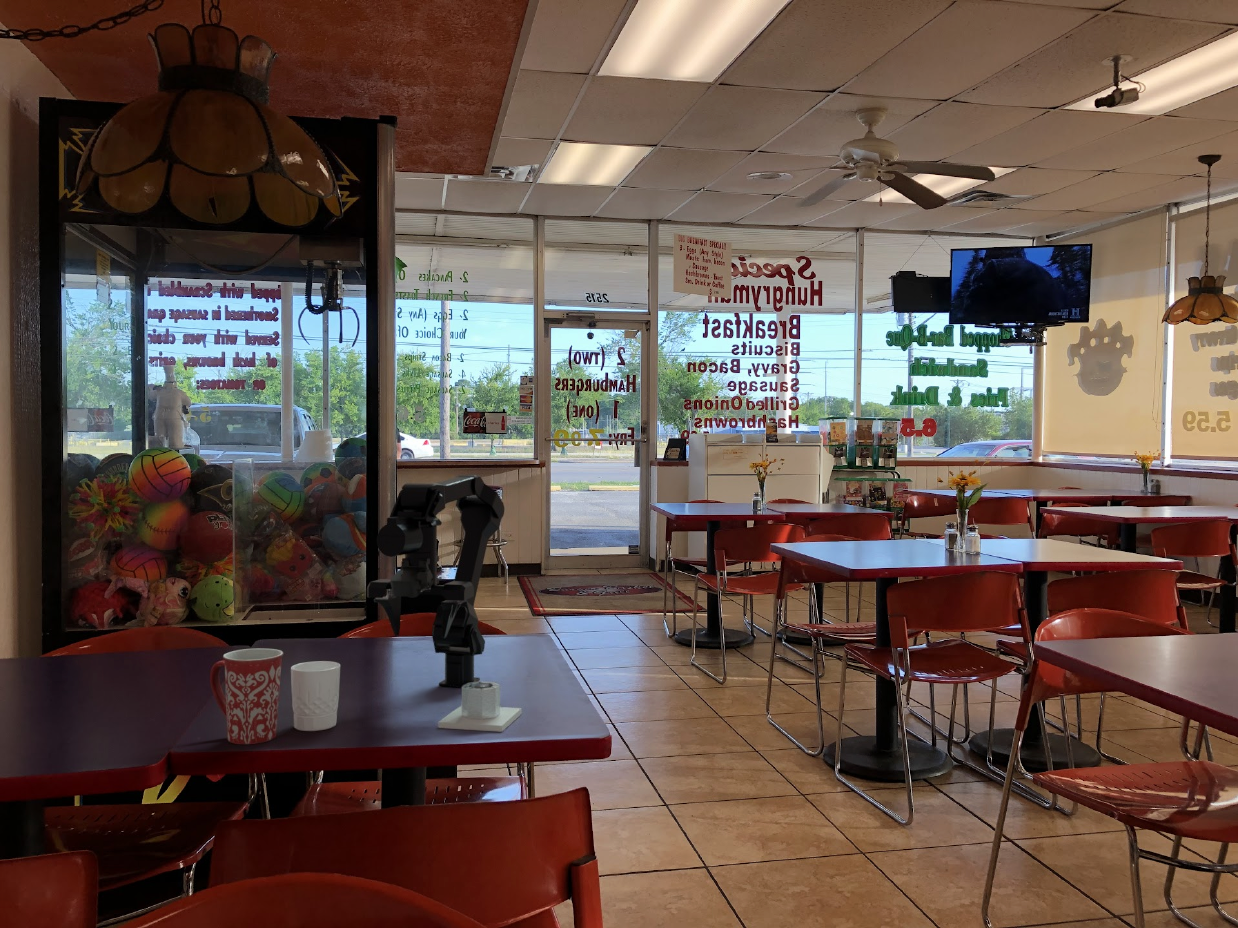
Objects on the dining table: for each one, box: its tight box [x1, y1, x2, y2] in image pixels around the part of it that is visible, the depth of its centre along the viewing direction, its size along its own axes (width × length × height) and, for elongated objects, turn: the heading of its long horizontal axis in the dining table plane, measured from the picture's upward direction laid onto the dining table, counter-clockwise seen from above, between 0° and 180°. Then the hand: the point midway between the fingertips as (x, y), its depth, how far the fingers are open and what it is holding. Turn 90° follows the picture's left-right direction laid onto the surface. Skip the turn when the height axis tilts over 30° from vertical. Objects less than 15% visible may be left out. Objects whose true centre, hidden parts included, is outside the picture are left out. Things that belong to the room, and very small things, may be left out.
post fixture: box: [437, 684, 522, 733], centre depth 161 cm, size 11×11×6 cm
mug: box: [209, 647, 284, 745], centre depth 151 cm, size 13×9×14 cm
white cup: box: [290, 660, 341, 732], centre depth 157 cm, size 8×8×10 cm
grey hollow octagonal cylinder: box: [461, 680, 501, 720], centre depth 161 cm, size 6×6×5 cm
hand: (420, 636), depth 173 cm, fingers open, 9 cm apart
